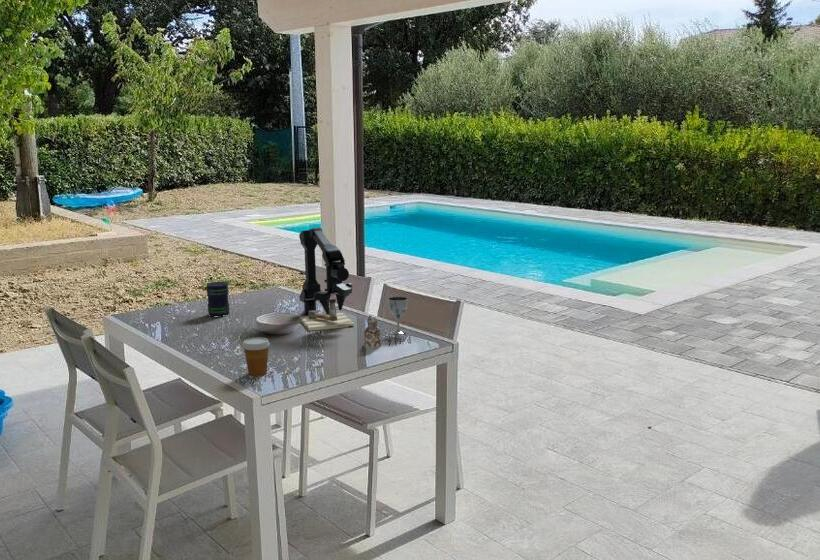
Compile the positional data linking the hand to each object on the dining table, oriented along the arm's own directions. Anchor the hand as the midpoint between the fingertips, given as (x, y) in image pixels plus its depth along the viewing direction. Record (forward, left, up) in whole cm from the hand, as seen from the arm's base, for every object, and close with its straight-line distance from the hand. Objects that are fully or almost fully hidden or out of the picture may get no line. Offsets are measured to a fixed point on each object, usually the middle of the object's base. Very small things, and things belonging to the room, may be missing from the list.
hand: (333, 312), depth 334 cm
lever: (-5, -4, -4) cm, 8 cm away
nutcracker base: (-5, -2, -6) cm, 8 cm away
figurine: (+37, +7, -6) cm, 38 cm away
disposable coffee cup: (+56, -41, -6) cm, 70 cm away
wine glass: (+22, +23, -6) cm, 32 cm away
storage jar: (-39, -46, -6) cm, 61 cm away
